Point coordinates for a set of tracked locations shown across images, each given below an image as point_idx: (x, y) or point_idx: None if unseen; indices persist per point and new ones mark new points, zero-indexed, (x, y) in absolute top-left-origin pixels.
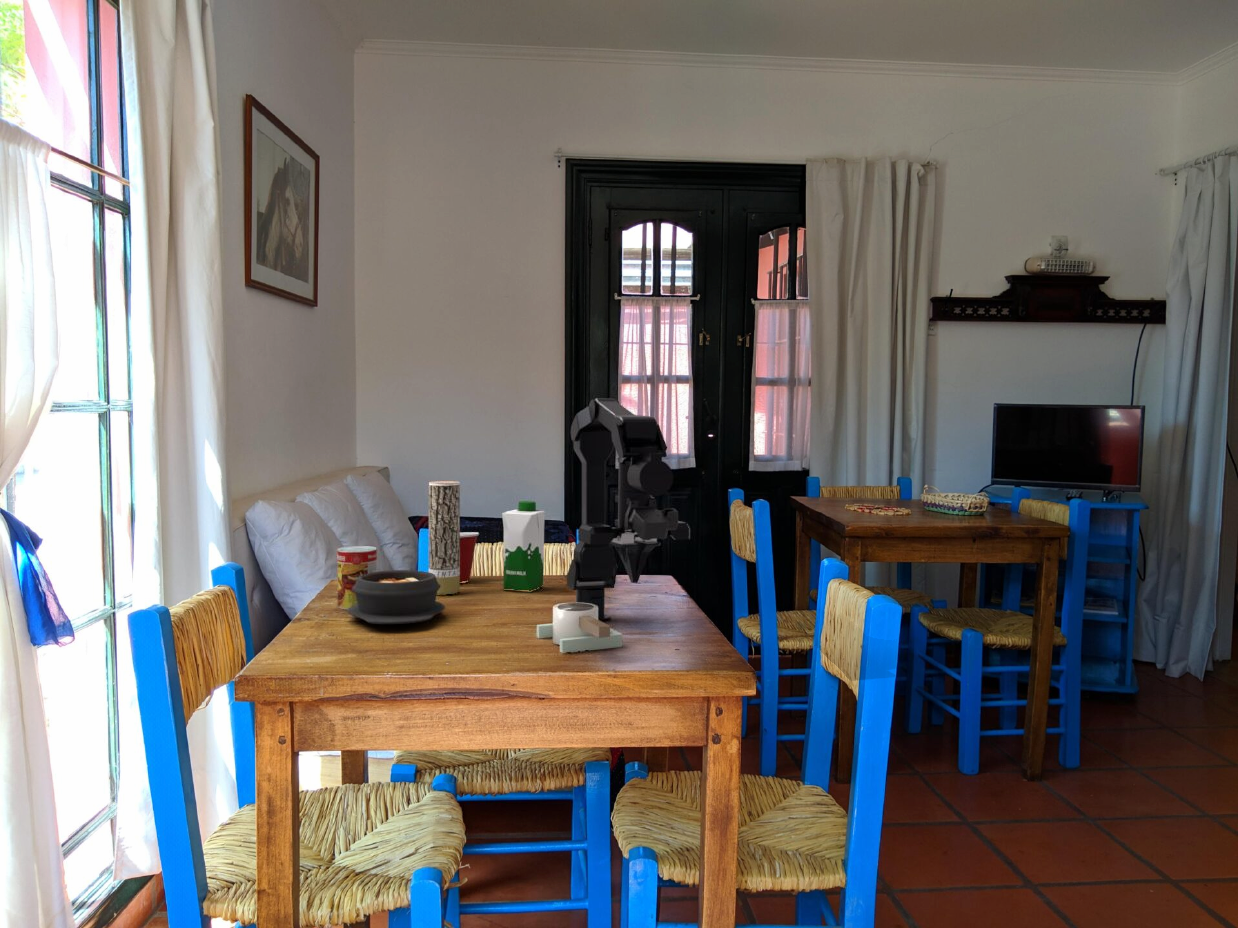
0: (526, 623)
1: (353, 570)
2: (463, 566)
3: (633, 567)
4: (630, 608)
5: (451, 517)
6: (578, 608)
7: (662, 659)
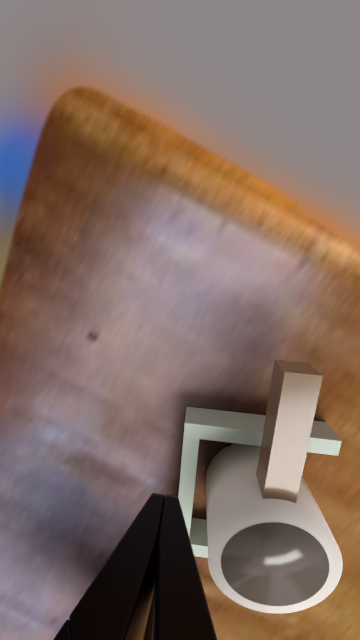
0: (260, 624)
1: None
2: None
3: (183, 602)
4: (29, 614)
5: None
6: (280, 546)
7: (162, 283)
